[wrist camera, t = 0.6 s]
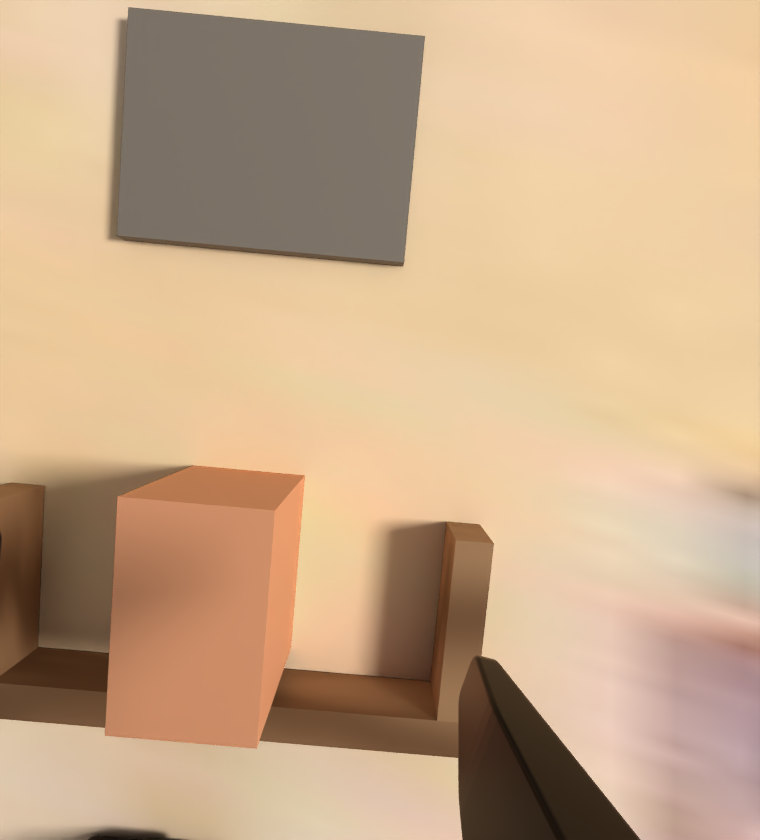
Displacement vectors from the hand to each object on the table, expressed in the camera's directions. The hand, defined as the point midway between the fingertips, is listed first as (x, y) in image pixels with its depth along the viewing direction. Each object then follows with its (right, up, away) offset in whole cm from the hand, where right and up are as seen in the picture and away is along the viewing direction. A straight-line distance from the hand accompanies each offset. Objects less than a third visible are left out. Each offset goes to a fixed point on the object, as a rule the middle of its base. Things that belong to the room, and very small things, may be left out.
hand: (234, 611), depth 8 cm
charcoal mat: (-2, +15, +11) cm, 19 cm away
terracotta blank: (-4, -3, +12) cm, 13 cm away
